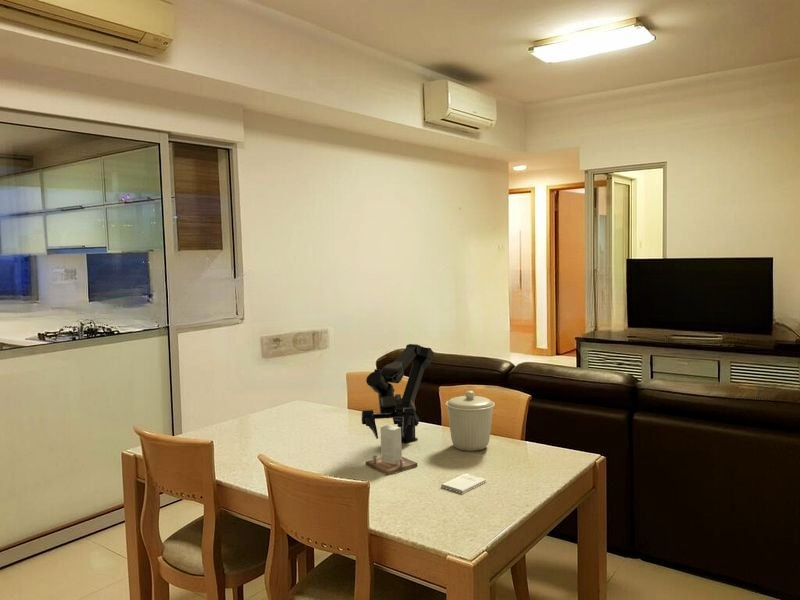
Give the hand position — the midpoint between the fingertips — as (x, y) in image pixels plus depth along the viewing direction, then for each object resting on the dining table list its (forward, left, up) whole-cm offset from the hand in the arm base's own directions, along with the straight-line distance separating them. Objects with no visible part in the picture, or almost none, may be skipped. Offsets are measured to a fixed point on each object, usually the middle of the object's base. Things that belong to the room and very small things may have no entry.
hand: (390, 437), depth 210 cm
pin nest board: (+2, +2, -9) cm, 9 cm away
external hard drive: (-6, +31, -10) cm, 33 cm away
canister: (-33, +5, -9) cm, 34 cm away
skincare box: (+1, +2, -8) cm, 8 cm away
